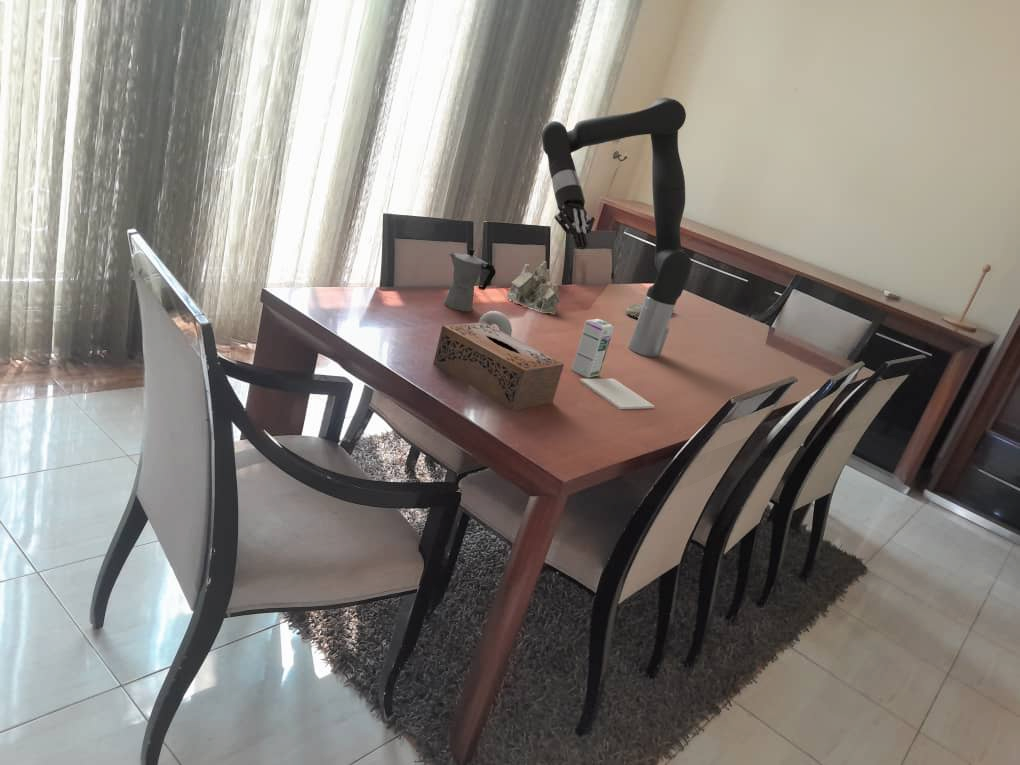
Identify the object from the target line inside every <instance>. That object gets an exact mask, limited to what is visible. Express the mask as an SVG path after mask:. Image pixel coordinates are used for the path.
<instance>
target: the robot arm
mask: <svg viewBox="0 0 1020 765" xmlns="http://www.w3.org/2000/svg"><path fill="white" fill-rule="evenodd" d="M686 115H687V112H686V109H685V107H684V106H683V104H682V102H680V101H678V100H676V99H675V98H674V99H673V98H671V97H670V98H669V97H661V98H658V99H656V100H655V101H653V103H652V104H651V105H650V107H647V108H644V109H642V110H639V111H633V112H628V113H620V114H611V115H603V116H598V117H592V118H588V119H583V120H579V121H577V122H576V124H575V125H574V127H573V129H571V130H569V131H567V128H566V127H565V125H564V124H563V123H561V122H559V121H555V120H552V121H549V122H547V123H546V124H545V125H544V126H543V128H542V131H541V142H542V148H543V152H544V153H545V154H546V156H547V159H548V169H549V174H550V177H551V183H552V190H553V194H554V198H555V201H556V206H557V209H558V211H559V212H558V213H557V214H556V215H554V219H555V220H556V222H557V223H558V224H559V226H560V227H561V228H562V230H563V231H564V232H565V233H566V235H569V234H570V235H571V237H572V239H573V242H574V246H575V247H576V249H578V250H585V249H587V247H588V246H589V243H588V239H587V235H588V234H590V233H591V232H592V229H593V226H594V224H595V217H594V216H591V217H590V216H589V215H588V214H587V213H588V212H587V210H586V209H585V204H586V201H585V197H584V192H583V189H582V184H581V181H580V178H579V176H578V173H577V170H576V166H575V162H574V158H573V155H572V154H573V153H574V152H577V151H579V150H580V149H583V148H584V147H590V146H595V145H599V144H605V143H609V142H612V141H617V140H622V139H624V138H625V139H626V138H631V137H636V136H643V135H644V136H645V135H650V142H651V149H652V150H651V152H652V167H651V168H652V173H651V174H652V177H651V178H652V181H651V182H652V185H651V186H652V187H651V188H652V203H653V216H654V226H655V243H654V245H655V246H654V266H655V268H656V271H657V272H658V274H657V276H656V279H655V281H654V283H653V285H651V286H649V287H648V289H647V291H646V295H645V298H644V300H643V303H642V304H643V306H642V309H641V312H640V315H639V318H638V319H637V321H636V323H635V324H636V325H635V328H634V330H633V333H632V337H631V339H630V341H629V342H630V343H629V345H628V348H629V350H631V351H632V352H634V353H636V354H639V355H642V356H645V357H650V358H656V357H659V358H660V357H661V354H662V351H663V348H664V346H665V343H666V340H667V337H668V335H669V332H670V328H669V323H670V321H671V317H672V315H673V312H674V311H673V309H674V310H675V307H676V304H677V301H678V299H679V298H680V297H681V296H682V294H683V291H684V289H685V286H686V285H687V284H686V283H687V281H688V279H689V276H690V273H691V269H692V260H691V257H690V255H689V254H687V253H686V252H685V251H684V250H683V248H682V244H681V242H682V241H681V223H682V218H683V215H684V211H685V208H686V207H685V206H686V182H685V174H684V169H683V165H682V161H681V160H682V159H681V156H680V153H679V139H678V138H679V130H680V129H682V127H683V126H684V124H685V121H686V117H687V116H686Z"/></svg>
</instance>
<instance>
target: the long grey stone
mask: <svg viewBox="0 0 1020 765" xmlns="http://www.w3.org/2000/svg"><path fill="white" fill-rule="evenodd" d="M642 306H643V303H641V302H637V303H635V304H632V305H630V306H628V307H627V308H626V309H625V314H626V313H627V314H629V315H628V316H630V315H631V316H630V317H633V316H634V317H633V318H636V317H639V315H640V312H641V309H642ZM674 311H675V308H674V309H673V312H674ZM627 314H626V315H627Z"/></svg>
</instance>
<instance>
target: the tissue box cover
mask: <svg viewBox="0 0 1020 765" xmlns="http://www.w3.org/2000/svg"><path fill="white" fill-rule="evenodd" d="M438 338H439V339H438V342H437V347H436V351H435V354H434V360H433V365H435V366H436V367H438V368H440V369H441V370H443V371H445V372H446V371H447V373H448V374H450V375H451V374H452V376H453V377H454V378H457V379H458V380H460V381H462V382H463V383H465V384H467V385H468V386H470V387H472V388H473V389H475V390H476V391H478V392H480V393H482V394H484V395H485V396H487V397H488V398H491V399H492V400H494V401H495V402H497V403H498V404H499V405H502V406H503V407H505V408H507V409H509V410H511V411H512V412H517V411H521V410H525V409H529V408H533V407H537V406H543V405H547V404H551V403H553V402H554V399H555V395H556V392H557V389H558V385H559V382H560V380H561V376H562V373H563V369H564V366H565V363H563V362H561V361H559V360H557V359H556V358H554V357H551V356H549V355H547V354H546V353H544V352H542V351H540V350H538V349H536V348H535V347H532V346H531V345H528V344H527V343H525V342H524V341H521V340H519V339H517V338H515V337H514V336H512V335H511V336H509V335H508V334H506V333H504V332H502V331H500V330H499V328H496V327H494V326H492V325H491V326H490V325H488V324H486V323H485V322H479V321H478V322H470V323H468V322H467V323H456V324H455V323H454V324H444V325H442V326H441V330H440V335H439V337H438Z"/></svg>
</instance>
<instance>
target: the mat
mask: <svg viewBox="0 0 1020 765" xmlns="http://www.w3.org/2000/svg"><path fill="white" fill-rule="evenodd" d="M579 382H581V383H582V384H583V385H584V386H586V387H587V388H589V389H590V390H592V391H593V392H594V393H596V394H597V395H599V396H601V397H602V398H603V399H605V400H606V402H609V403H610V404H612V405H613V406H615V407H616V408H617V409H619V410H636V409H637V410H638V409H655V405H654V404H652V403H651V402H649V401H647V400H646V399H645V398H643V397H642V396H641V395H639V394H637V393H636V392H634V391H633V390H631V389H630V388H628V387H627V386H626V385H624V384H622V383H621V382H620V381H618V380H617V379H616V378H579Z"/></svg>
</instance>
